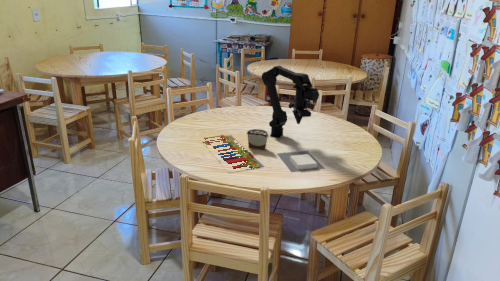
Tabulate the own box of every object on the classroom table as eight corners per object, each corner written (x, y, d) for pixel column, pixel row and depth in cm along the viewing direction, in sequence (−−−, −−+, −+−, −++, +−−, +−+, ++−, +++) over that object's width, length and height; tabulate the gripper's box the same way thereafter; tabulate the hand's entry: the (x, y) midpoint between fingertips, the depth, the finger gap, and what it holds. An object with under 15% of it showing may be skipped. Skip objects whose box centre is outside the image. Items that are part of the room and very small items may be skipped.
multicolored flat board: (264, 163, 179) (228, 170, 171) (264, 167, 180) (228, 174, 172) (230, 132, 216) (200, 136, 209) (230, 136, 217) (200, 140, 210)
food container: (270, 147, 202) (271, 130, 198) (267, 151, 197) (268, 134, 193) (249, 143, 206) (250, 127, 202) (246, 147, 200) (246, 131, 197)
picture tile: (290, 155, 186) (298, 165, 176) (308, 154, 188) (317, 163, 178) (289, 160, 187) (297, 169, 177) (307, 158, 189) (316, 167, 179)
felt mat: (276, 154, 194) (276, 153, 194) (307, 151, 199) (307, 150, 199) (291, 172, 175) (291, 172, 174) (325, 169, 179) (325, 168, 179)
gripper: (321, 101, 192) (318, 128, 198) (307, 92, 208) (305, 117, 214) (301, 102, 189) (299, 130, 195) (289, 93, 206) (287, 118, 211)
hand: (298, 123), depth 204 cm, fingers closed
